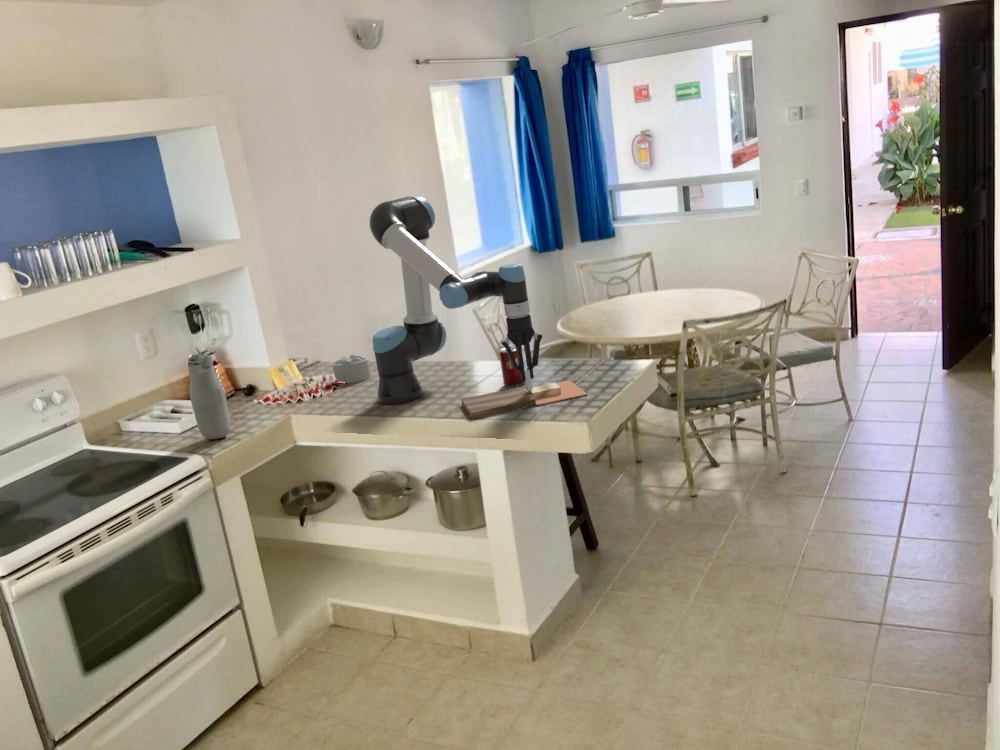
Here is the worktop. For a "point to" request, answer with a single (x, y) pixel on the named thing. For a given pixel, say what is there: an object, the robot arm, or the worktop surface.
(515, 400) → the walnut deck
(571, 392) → the terracotta mat
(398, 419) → the worktop surface
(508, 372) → the soda can
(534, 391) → the birch tile
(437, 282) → the robot arm
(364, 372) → the lumpy-topped squat cylinder
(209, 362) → the grey vase
